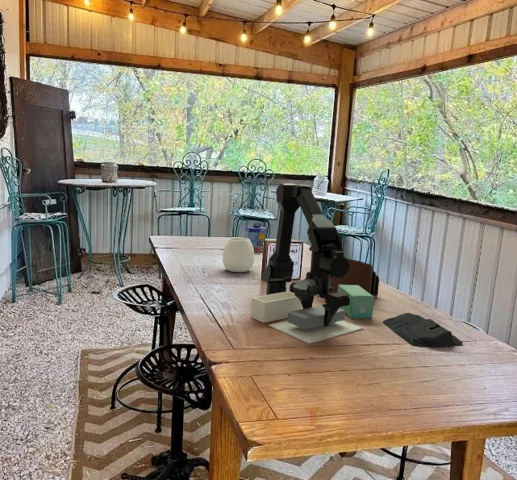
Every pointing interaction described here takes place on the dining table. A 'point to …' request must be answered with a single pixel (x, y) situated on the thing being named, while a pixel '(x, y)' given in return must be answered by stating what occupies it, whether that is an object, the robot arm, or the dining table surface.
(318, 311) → the grey rectangular block
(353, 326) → the pale cream mat
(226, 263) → the cream rounded pot
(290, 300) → the base
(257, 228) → the ink cartridge box
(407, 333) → the dark slate chunk
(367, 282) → the letter holder
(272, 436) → the dining table surface
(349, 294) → the box
